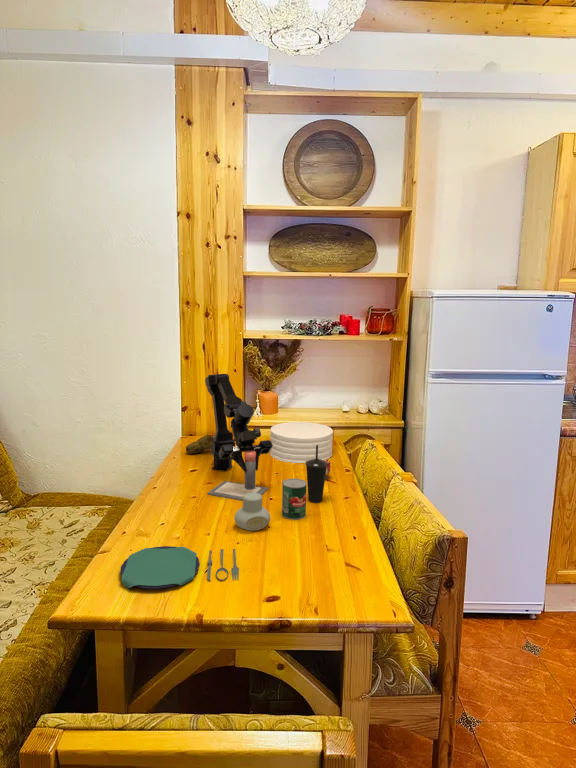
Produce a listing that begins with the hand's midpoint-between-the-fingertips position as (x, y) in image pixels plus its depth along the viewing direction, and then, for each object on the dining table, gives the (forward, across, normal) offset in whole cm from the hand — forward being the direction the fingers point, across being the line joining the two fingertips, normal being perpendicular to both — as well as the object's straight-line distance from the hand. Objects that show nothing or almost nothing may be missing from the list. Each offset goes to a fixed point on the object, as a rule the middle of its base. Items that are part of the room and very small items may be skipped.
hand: (251, 470), depth 175 cm
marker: (+4, 0, +6) cm, 7 cm away
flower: (+1, +32, +14) cm, 35 cm away
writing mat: (+2, -2, +13) cm, 13 cm away
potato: (-32, -3, +48) cm, 58 cm away
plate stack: (-20, +39, +36) cm, 56 cm away
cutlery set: (+33, -33, -18) cm, 50 cm away
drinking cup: (+14, +20, +1) cm, 25 cm away
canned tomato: (+20, +8, -5) cm, 22 cm away
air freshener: (+22, -7, -7) cm, 24 cm away
